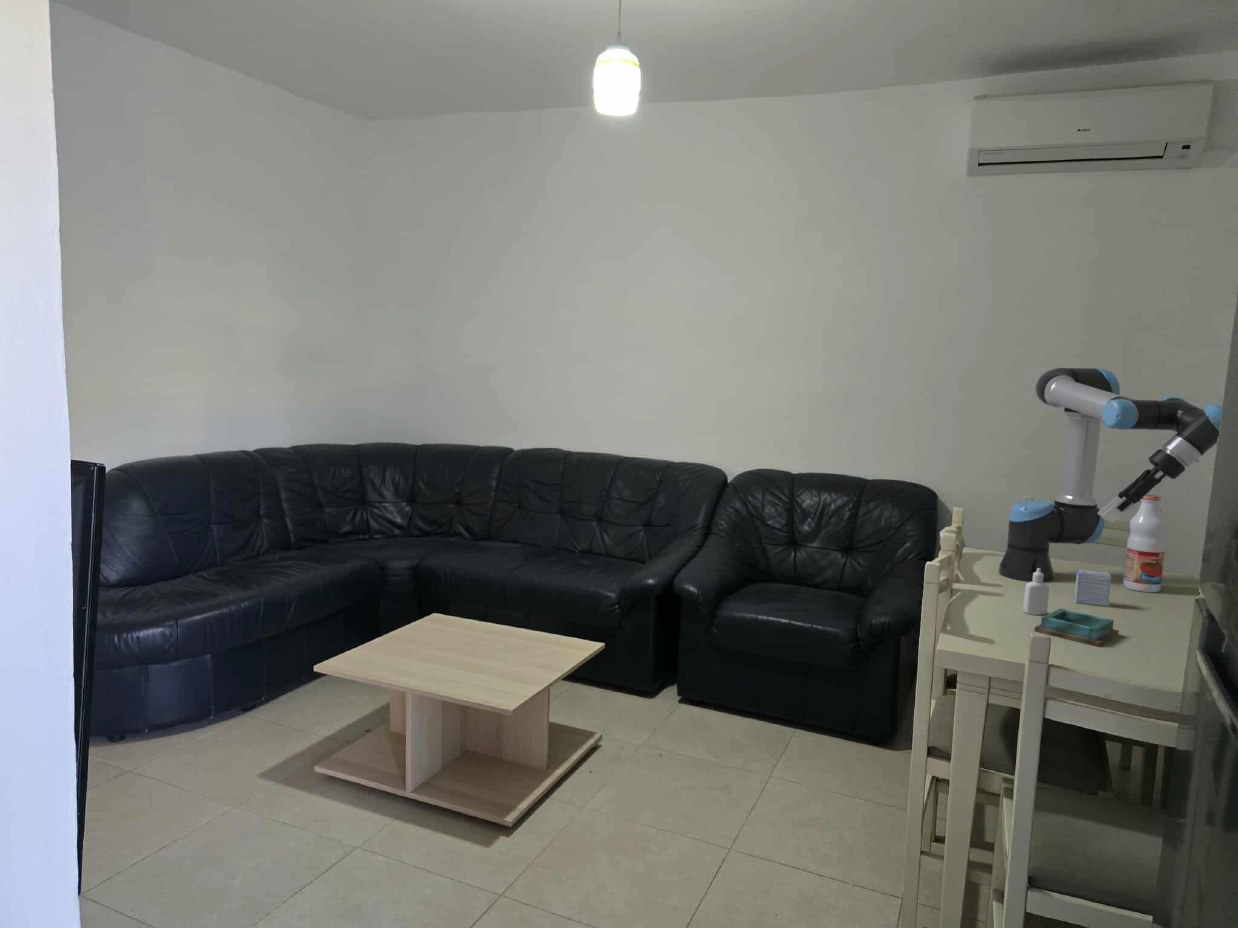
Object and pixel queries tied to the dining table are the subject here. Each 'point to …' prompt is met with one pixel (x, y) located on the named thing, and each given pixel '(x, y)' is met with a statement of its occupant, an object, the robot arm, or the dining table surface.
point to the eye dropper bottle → (1036, 595)
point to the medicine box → (1092, 588)
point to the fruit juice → (1145, 547)
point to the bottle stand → (1077, 627)
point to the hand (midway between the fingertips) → (1104, 518)
